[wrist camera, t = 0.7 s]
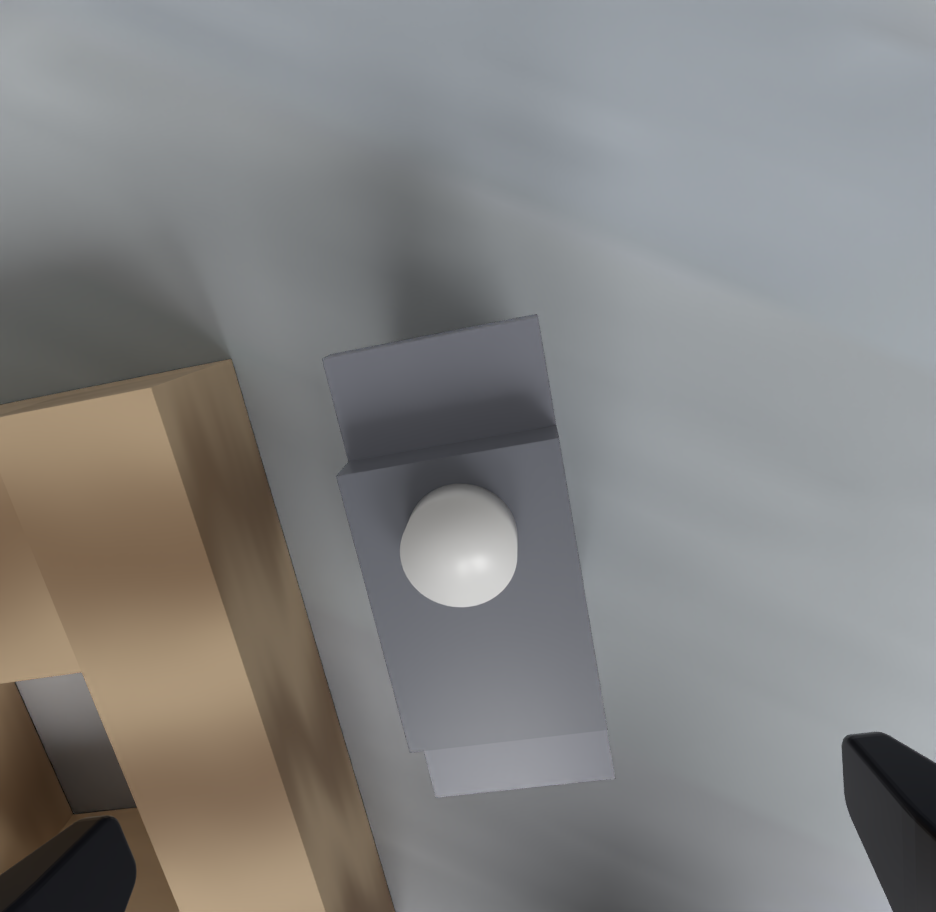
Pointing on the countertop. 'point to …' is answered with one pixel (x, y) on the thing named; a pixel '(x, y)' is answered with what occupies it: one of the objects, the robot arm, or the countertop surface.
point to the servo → (472, 556)
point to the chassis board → (174, 650)
